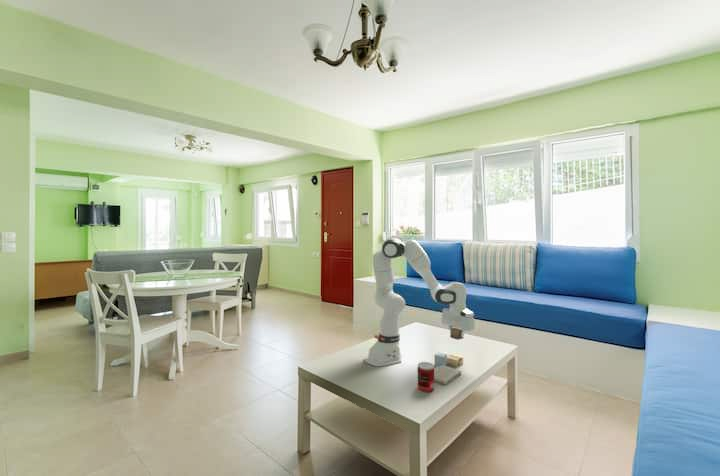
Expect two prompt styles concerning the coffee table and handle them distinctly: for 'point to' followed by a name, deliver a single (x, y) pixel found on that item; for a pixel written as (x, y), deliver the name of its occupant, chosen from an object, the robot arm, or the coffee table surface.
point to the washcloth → (445, 374)
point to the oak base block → (454, 360)
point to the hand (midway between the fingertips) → (456, 335)
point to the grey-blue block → (440, 359)
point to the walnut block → (456, 333)
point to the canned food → (426, 377)
